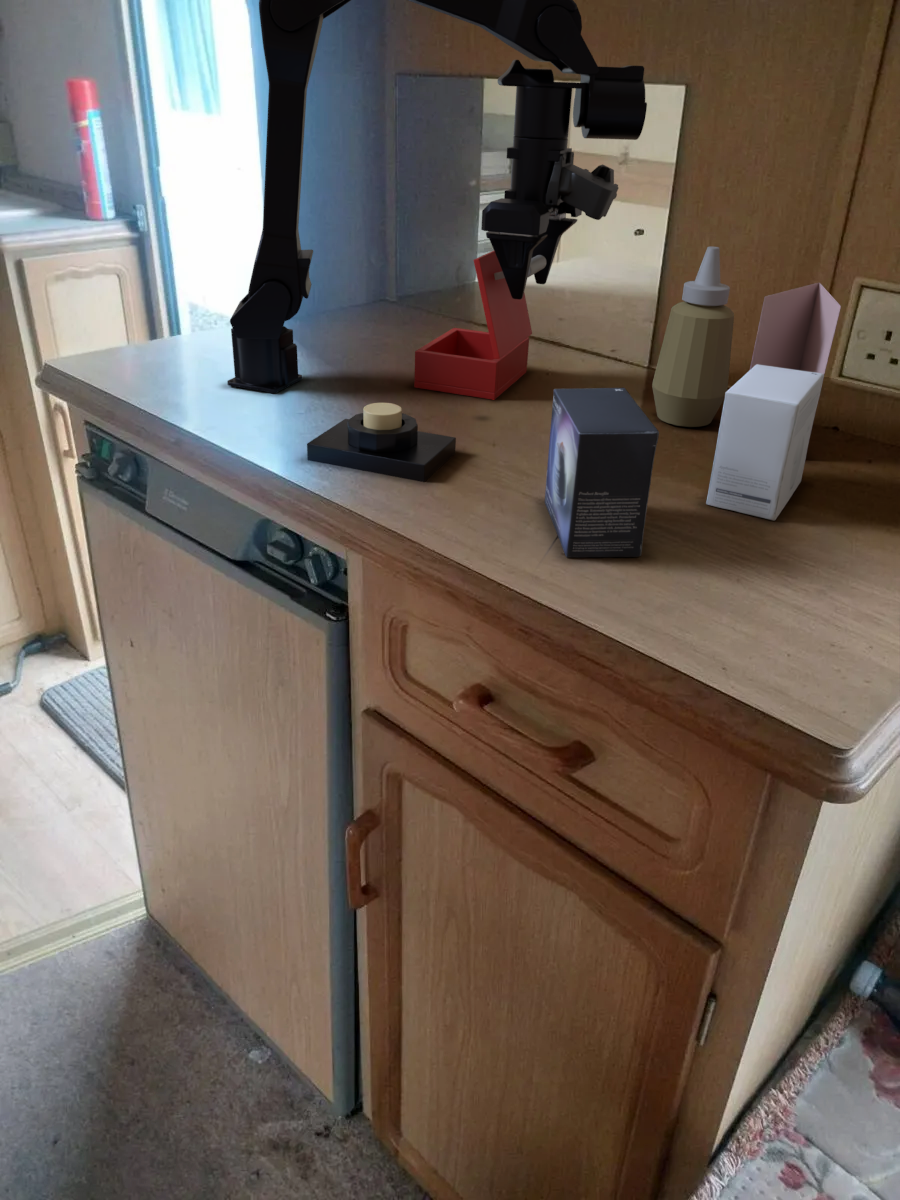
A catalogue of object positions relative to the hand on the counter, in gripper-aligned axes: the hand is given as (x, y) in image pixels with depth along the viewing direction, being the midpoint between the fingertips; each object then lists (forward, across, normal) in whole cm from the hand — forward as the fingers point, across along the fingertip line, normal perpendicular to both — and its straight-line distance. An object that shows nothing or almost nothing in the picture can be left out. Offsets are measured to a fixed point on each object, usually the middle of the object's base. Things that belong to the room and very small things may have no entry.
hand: (529, 291), depth 103 cm
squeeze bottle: (+11, -3, -20) cm, 23 cm away
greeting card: (+11, -5, -31) cm, 33 cm away
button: (+8, -28, +5) cm, 30 cm away
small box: (+11, -35, -17) cm, 40 cm away
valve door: (+1, 0, +3) cm, 3 cm away
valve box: (+11, 0, +6) cm, 13 cm away
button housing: (+11, -28, +5) cm, 31 cm away
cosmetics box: (+11, -21, -29) cm, 37 cm away
